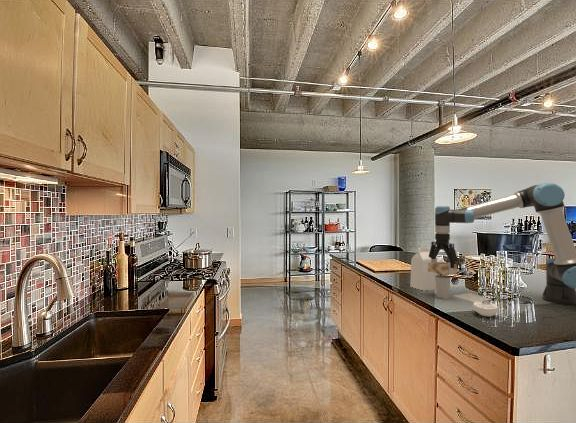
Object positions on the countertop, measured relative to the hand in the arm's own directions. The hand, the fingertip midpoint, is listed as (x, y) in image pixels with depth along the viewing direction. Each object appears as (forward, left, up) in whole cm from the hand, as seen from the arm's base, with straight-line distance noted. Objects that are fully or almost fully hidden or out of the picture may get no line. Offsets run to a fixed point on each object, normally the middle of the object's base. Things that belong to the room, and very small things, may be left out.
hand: (442, 271), depth 175 cm
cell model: (-30, +6, -15) cm, 34 cm away
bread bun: (0, 0, 0) cm, 0 cm away
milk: (+21, -7, -15) cm, 27 cm away
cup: (0, 0, -15) cm, 15 cm away
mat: (-7, -14, -15) cm, 22 cm away
